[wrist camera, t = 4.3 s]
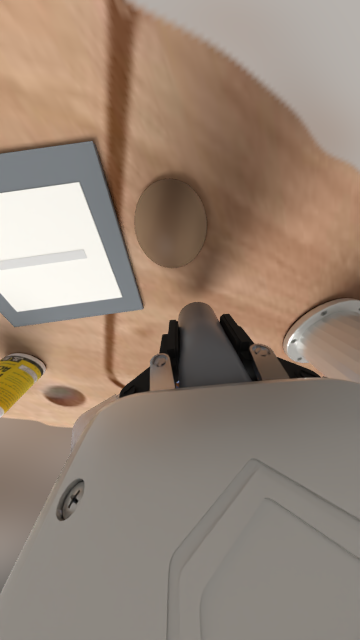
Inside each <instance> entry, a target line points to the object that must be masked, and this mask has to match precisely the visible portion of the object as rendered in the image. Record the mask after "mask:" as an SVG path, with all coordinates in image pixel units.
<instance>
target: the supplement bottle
mask: <svg viewBox="0 0 360 640" xmlns="http://www.w3.org/2000/svg"><path fill="white" fill-rule="evenodd" d="M45 371H46V367H45V365H44V364H43V363H42V362H41V361H40V360H39V359H37V358H35V357H33V356H31V355H28V354H23V353H14V354H10V355H8V356H6V357H4V358H3V359H1V360H0V417H1V416H3V415H4V414H5V413H6V412H7V411H8V410H9V409H10V408H11V407H12V405H13V404H14V403H15V402H16V401H17V400H18V399H19V398H20V397H21V396H22V395H23V394H24V393H25V392H26V391H27V390H28V389H29V388H30V387H31V386H32V385H33V384H34V383H35V382H36V381H37V380H38V379H39V378H40V377H41V376H42V375H43V374H44V373H45Z"/></svg>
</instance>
